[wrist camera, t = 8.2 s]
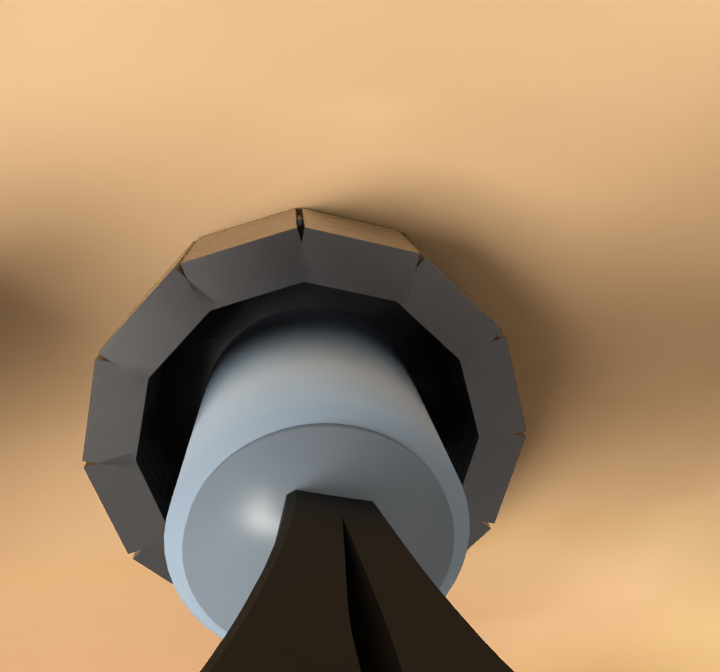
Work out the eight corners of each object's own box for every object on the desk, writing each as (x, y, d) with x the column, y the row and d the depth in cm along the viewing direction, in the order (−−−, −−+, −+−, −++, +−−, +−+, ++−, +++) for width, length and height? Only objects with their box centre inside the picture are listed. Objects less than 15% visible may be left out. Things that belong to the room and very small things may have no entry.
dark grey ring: (429, 565, 17) (452, 639, 15) (99, 521, 16) (65, 594, 13) (530, 261, 15) (578, 289, 12) (148, 172, 13) (117, 184, 11)
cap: (381, 509, 16) (423, 686, 11) (187, 477, 15) (138, 653, 10) (437, 332, 14) (514, 443, 9) (227, 285, 13) (192, 380, 9)
